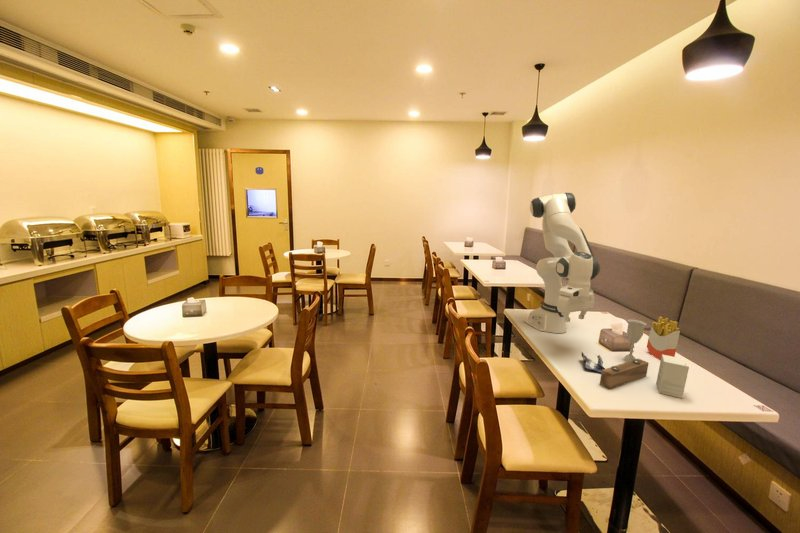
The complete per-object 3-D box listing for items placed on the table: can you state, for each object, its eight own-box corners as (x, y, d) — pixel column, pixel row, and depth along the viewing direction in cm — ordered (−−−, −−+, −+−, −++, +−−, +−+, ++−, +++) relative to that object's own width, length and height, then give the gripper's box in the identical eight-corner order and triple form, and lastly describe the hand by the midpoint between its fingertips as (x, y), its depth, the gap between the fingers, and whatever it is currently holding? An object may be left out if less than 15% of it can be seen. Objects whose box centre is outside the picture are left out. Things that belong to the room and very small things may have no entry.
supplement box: (679, 389, 134) (686, 358, 131) (682, 399, 127) (689, 366, 125) (655, 383, 137) (661, 353, 135) (657, 392, 131) (664, 361, 128)
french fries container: (663, 362, 156) (671, 323, 152) (644, 351, 166) (652, 315, 163) (673, 362, 156) (681, 324, 153) (654, 351, 167) (661, 315, 163)
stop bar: (599, 384, 135) (602, 368, 134) (635, 371, 146) (638, 356, 145) (609, 389, 132) (612, 372, 130) (646, 376, 143) (649, 360, 141)
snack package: (611, 368, 150) (582, 358, 157) (614, 355, 147) (583, 345, 155) (603, 382, 142) (572, 371, 149) (606, 369, 139) (574, 358, 147)
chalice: (641, 365, 152) (649, 326, 148) (624, 363, 153) (631, 324, 149) (634, 358, 159) (641, 320, 155) (617, 356, 160) (624, 318, 156)
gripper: (586, 286, 161) (582, 315, 164) (556, 290, 152) (552, 320, 154) (600, 289, 156) (595, 319, 158) (569, 293, 146) (565, 325, 149)
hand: (574, 320), depth 156 cm, fingers open, 8 cm apart
